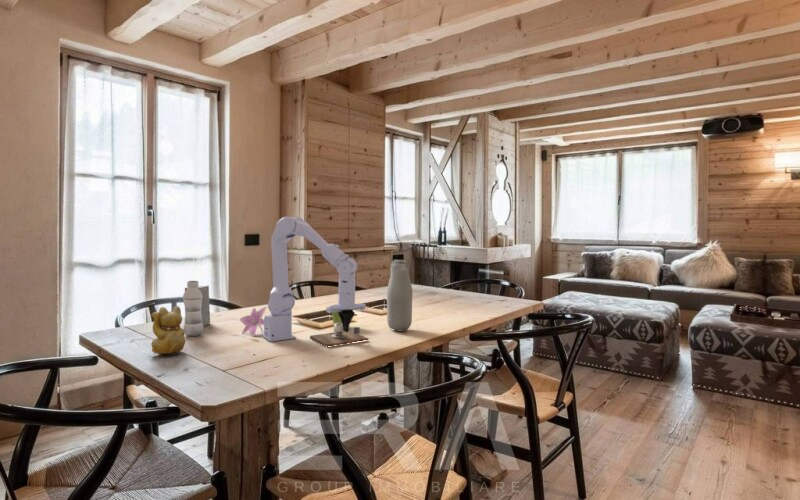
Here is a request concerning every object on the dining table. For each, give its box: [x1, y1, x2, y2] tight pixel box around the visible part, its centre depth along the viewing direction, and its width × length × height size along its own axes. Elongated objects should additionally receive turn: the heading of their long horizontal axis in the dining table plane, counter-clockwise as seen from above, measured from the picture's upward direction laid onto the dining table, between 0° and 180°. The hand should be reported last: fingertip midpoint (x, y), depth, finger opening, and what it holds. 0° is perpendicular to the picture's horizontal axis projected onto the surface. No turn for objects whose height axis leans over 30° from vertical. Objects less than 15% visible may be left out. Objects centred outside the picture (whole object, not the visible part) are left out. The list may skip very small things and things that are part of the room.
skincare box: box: [184, 285, 211, 328], centre depth 185 cm, size 8×7×16 cm
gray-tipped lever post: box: [333, 323, 361, 335], centre depth 164 cm, size 4×10×3 cm, turn 65°
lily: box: [239, 306, 268, 338], centre depth 174 cm, size 12×12×10 cm
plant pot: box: [331, 304, 342, 326], centre depth 185 cm, size 9×9×9 cm
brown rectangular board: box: [309, 331, 369, 347], centre depth 166 cm, size 16×14×3 cm
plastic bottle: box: [182, 280, 204, 337], centre depth 168 cm, size 6×7×20 cm
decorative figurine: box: [150, 305, 186, 358], centre depth 145 cm, size 10×8×15 cm
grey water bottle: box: [386, 259, 413, 331], centre depth 182 cm, size 10×10×28 cm
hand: (345, 331), depth 163 cm, fingers closed, pressing on gray-tipped lever post
